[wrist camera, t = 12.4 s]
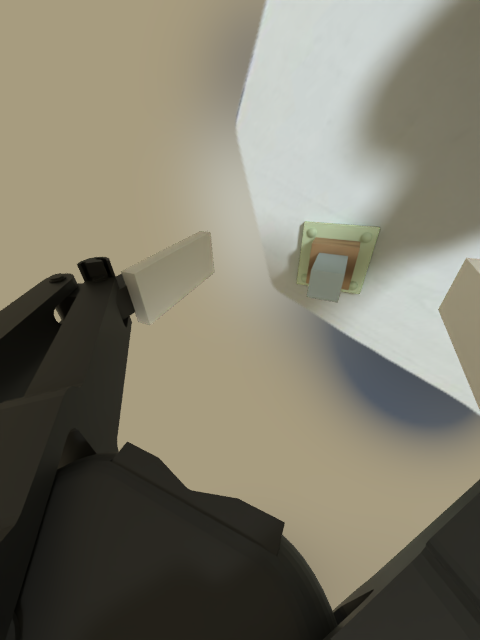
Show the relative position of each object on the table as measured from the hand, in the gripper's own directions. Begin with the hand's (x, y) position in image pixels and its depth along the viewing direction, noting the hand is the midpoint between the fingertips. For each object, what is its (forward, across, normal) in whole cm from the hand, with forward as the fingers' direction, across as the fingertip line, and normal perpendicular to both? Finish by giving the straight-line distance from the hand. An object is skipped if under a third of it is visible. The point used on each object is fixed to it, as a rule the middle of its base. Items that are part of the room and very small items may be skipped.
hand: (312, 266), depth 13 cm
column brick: (+31, 0, -13) cm, 34 cm away
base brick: (+36, 0, -13) cm, 38 cm away
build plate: (+36, 0, -13) cm, 39 cm away
